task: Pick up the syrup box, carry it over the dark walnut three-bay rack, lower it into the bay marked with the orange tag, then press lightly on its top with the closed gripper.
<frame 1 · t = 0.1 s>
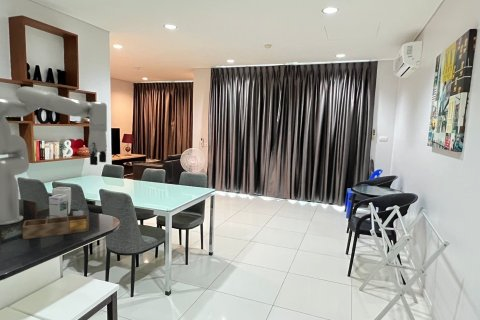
hand: (98, 163, 145), 31 cm above the table, tool pointing down, fingers open, 9 cm apart
syrup box: (59, 224, 147), on the table
cup: (62, 215, 160), on the table
rack: (57, 231, 137), on the table
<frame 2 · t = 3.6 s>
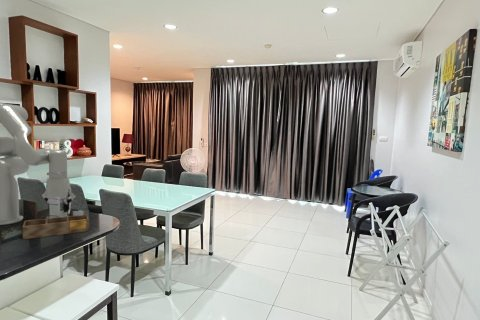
hand: (59, 210, 146), 7 cm above the table, tool pointing down, fingers closed on syrup box, 6 cm apart
syrup box: (59, 224, 147), on the table, touching gripper
everything else where it was.
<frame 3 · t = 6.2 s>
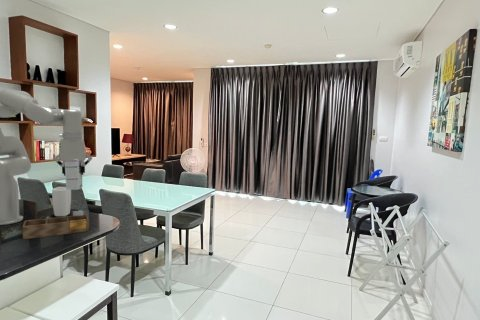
hand: (73, 174, 139), 26 cm above the table, tool pointing down, fingers closed on syrup box, 6 cm apart
syrup box: (74, 188, 140), point 19 cm above the table, touching gripper
everything else where it was.
when the fingers open (9 cm above the table, at t = 9.3 s): syrup box drops 1 cm, resting on rack.
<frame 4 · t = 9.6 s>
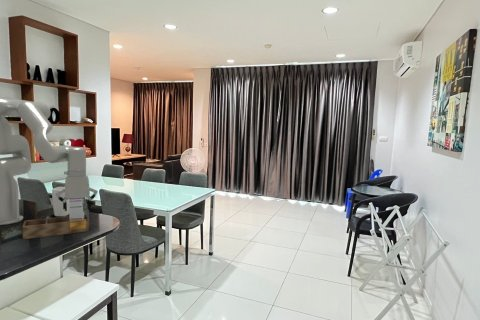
hand: (77, 209, 140), 10 cm above the table, tool pointing down, fingers open, 9 cm apart
syrup box: (77, 227, 141), point 1 cm above the table, touching rack
everything else where it was.
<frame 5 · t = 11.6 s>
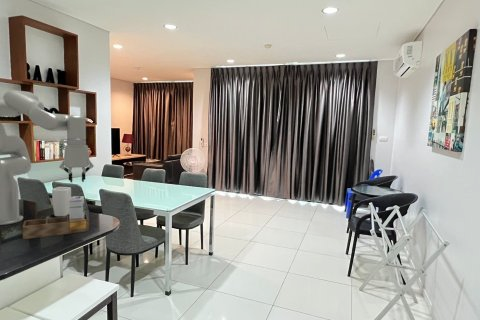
hand: (77, 181, 139), 23 cm above the table, tool pointing down, fingers open, 4 cm apart
nothing on the table moved.
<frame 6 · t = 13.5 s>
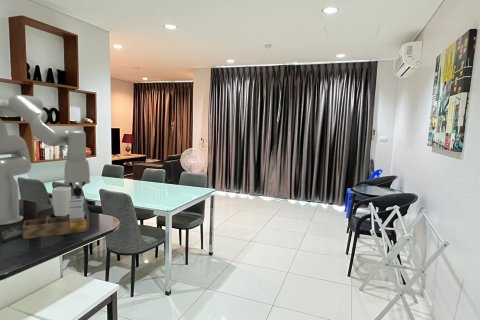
hand: (77, 196, 139), 16 cm above the table, tool pointing down, fingers closed
nothing on the table moved.
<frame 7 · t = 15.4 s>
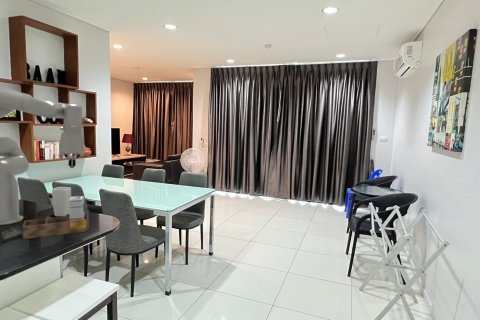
hand: (72, 167, 145), 28 cm above the table, tool pointing down, fingers closed
nothing on the table moved.
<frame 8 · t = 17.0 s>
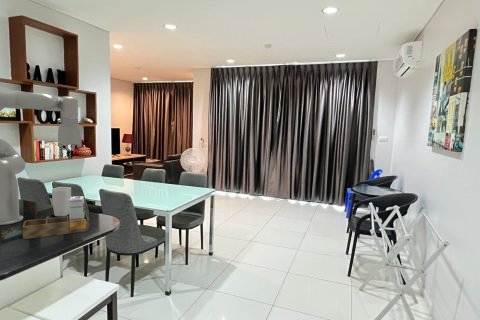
hand: (70, 158, 150), 32 cm above the table, tool pointing down, fingers closed
nothing on the table moved.
at the end: syrup box 0.3 cm from the target spot on the rack, point 0.8 cm above the rack's base; syrup box tilted 0°; the gripper is holding nothing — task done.
